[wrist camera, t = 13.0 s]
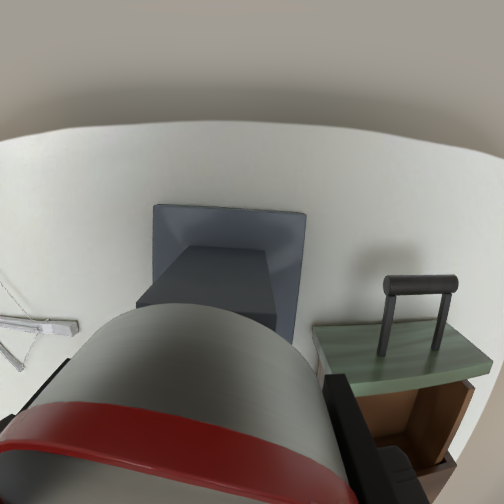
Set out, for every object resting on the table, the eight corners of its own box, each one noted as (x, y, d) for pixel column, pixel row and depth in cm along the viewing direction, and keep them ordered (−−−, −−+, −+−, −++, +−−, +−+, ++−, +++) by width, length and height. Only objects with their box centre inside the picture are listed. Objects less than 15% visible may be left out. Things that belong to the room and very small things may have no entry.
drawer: (318, 256, 26) (350, 293, 17) (453, 258, 26) (514, 286, 17) (298, 442, 30) (308, 504, 22) (409, 428, 31) (438, 479, 22)
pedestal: (158, 204, 26) (71, 228, 12) (303, 212, 26) (358, 247, 13) (159, 335, 29) (103, 437, 15) (289, 345, 29) (313, 458, 15)
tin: (193, 233, 9) (91, 336, 3) (372, 420, 10) (426, 548, 4) (40, 385, 10) (-38, 480, 4) (200, 506, 12) (186, 607, 6)
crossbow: (1, 359, 31) (-8, 366, 29) (-25, 266, 28) (-36, 270, 26) (93, 378, 30) (84, 389, 27) (65, 264, 27) (53, 270, 25)
